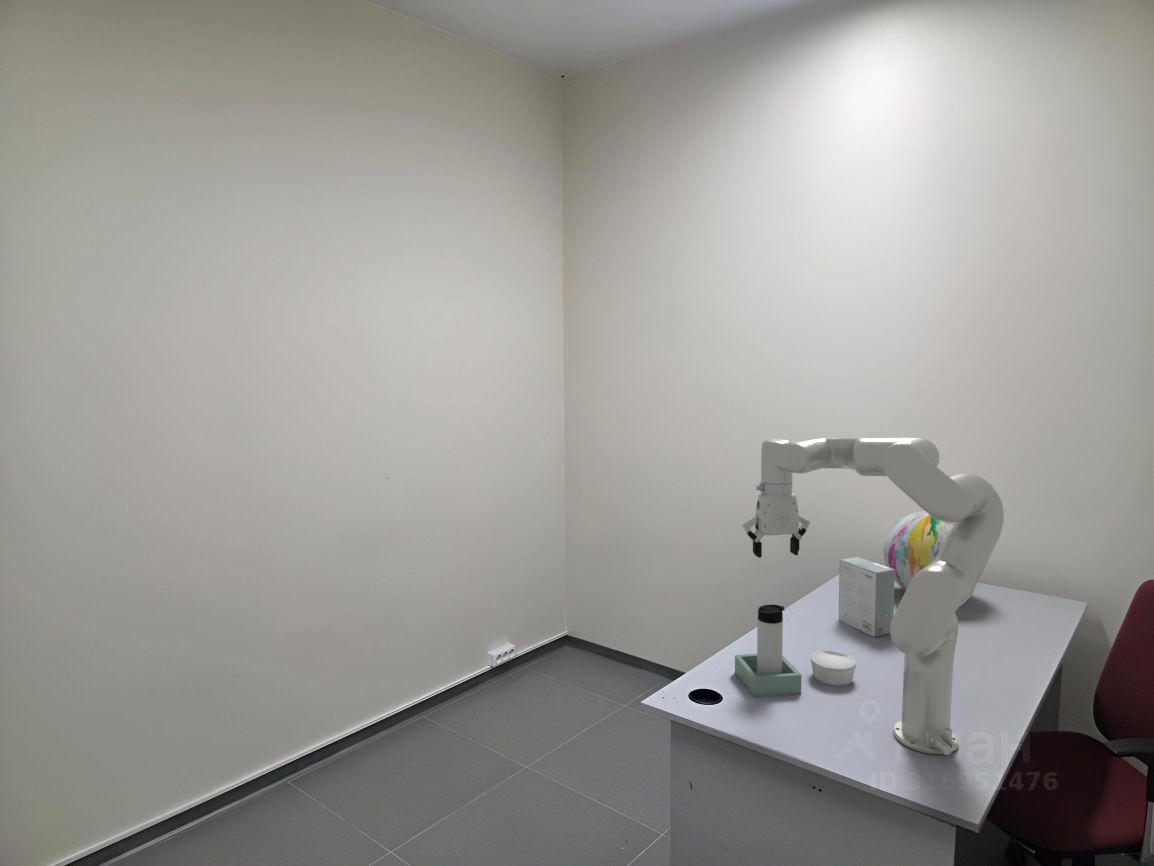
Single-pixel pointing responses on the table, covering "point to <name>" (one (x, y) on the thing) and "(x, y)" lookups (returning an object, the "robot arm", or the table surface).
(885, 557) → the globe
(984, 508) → the robot arm
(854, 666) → the ramekin
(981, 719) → the table surface
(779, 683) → the tray
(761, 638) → the travel mug
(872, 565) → the hard drive box
